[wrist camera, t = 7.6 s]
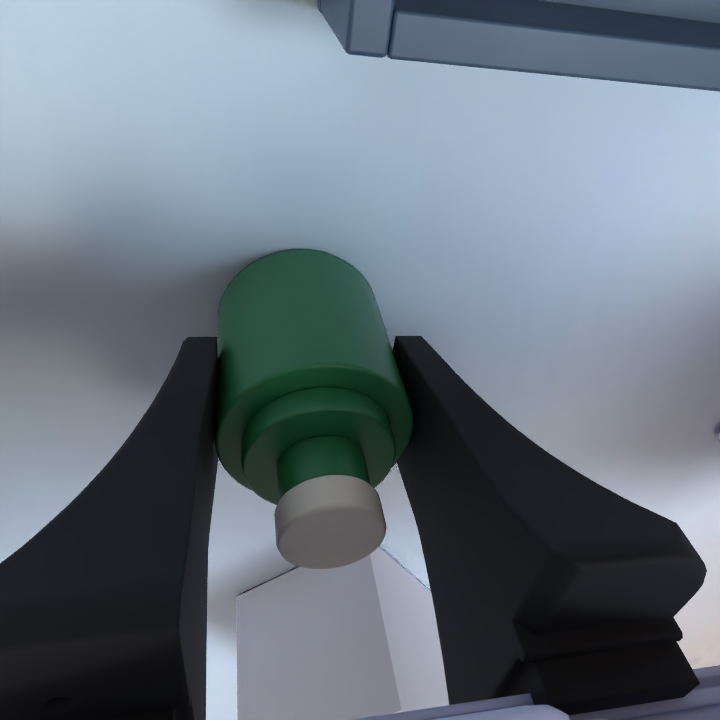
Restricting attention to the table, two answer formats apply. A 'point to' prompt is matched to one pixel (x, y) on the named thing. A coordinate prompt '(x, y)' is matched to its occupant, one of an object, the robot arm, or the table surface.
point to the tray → (542, 36)
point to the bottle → (310, 403)
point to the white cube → (338, 644)
